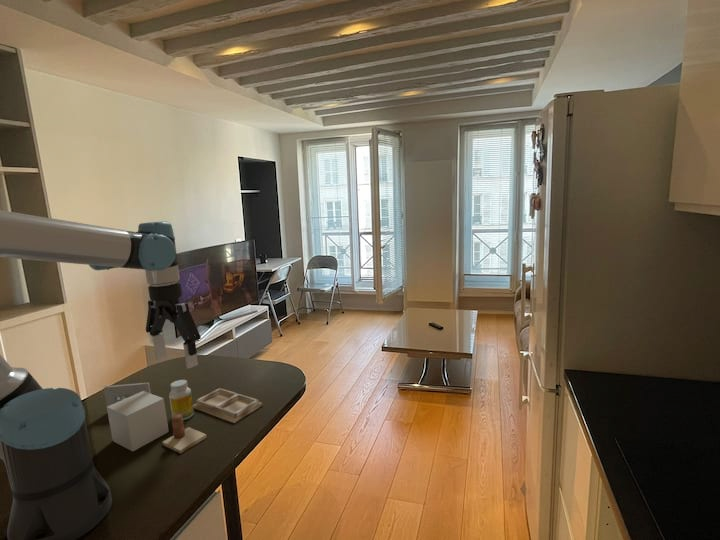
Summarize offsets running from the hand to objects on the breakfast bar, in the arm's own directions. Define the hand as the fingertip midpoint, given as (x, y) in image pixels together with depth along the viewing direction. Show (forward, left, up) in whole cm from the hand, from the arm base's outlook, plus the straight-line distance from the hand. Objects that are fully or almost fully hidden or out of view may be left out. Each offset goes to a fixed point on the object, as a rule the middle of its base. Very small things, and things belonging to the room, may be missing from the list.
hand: (176, 362), depth 104 cm
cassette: (-5, +17, -16) cm, 24 cm away
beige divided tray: (+9, -7, -15) cm, 19 cm away
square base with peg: (-7, -11, -15) cm, 20 cm away
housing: (-11, +1, -15) cm, 19 cm away
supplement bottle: (0, 0, -16) cm, 16 cm away
